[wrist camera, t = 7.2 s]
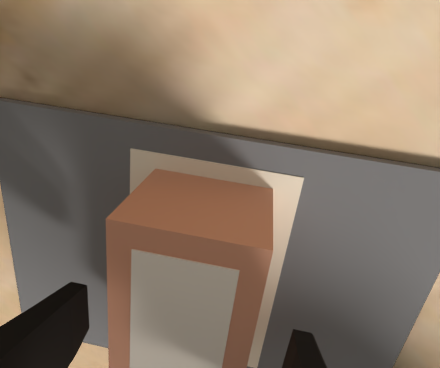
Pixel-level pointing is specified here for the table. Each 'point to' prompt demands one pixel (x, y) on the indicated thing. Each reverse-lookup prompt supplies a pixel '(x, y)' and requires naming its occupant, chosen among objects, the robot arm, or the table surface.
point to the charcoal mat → (240, 173)
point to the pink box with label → (187, 272)
